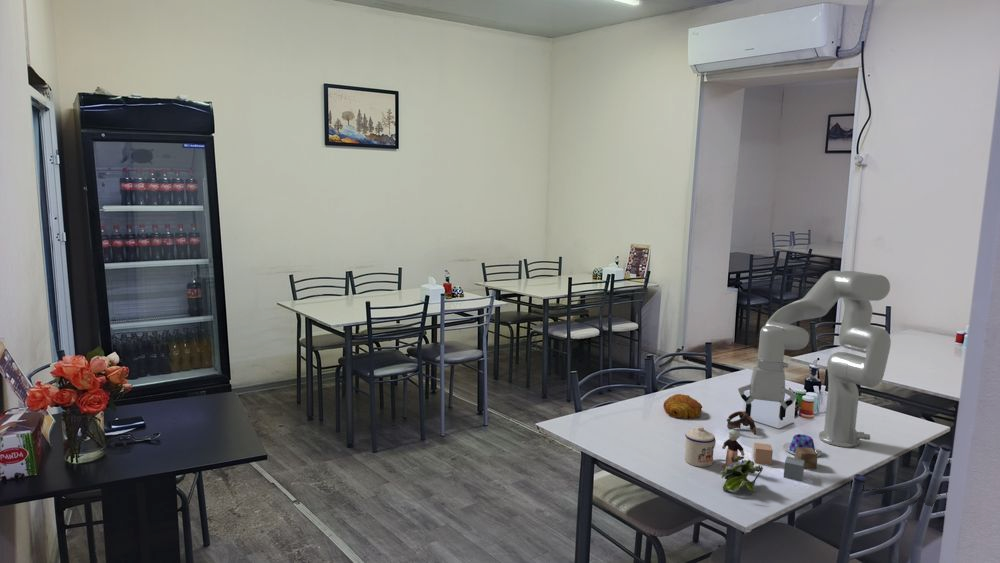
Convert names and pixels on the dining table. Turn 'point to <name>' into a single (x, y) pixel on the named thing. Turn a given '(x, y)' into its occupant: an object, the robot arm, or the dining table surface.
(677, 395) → the croissant
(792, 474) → the slate grey cube
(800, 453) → the walnut cube
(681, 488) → the dining table surface
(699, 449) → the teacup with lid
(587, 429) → the dining table surface
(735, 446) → the grandmother figurine
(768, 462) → the terracotta cube
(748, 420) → the brown curved piece
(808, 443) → the purple patterned hat
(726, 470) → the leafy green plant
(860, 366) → the robot arm
